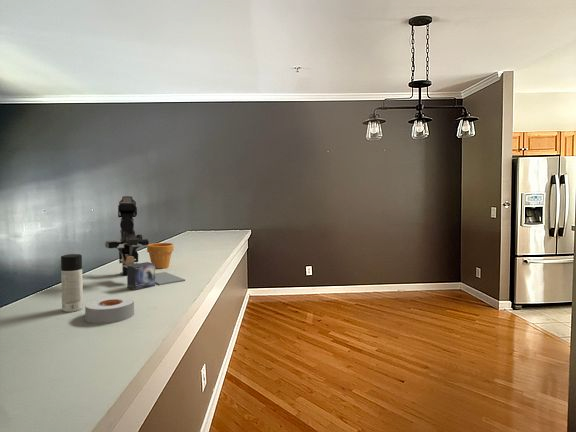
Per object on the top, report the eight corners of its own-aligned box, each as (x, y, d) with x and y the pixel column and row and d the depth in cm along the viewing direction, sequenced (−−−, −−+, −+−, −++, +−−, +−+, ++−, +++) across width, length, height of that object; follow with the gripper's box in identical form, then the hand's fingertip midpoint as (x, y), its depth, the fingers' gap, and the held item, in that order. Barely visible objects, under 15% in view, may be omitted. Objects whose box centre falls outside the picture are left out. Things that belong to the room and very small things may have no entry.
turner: (117, 263, 179) (117, 255, 179) (131, 261, 184) (131, 253, 184) (127, 268, 169) (127, 259, 169) (142, 266, 174) (142, 257, 174)
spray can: (87, 307, 138) (86, 254, 137) (75, 312, 131) (73, 257, 130) (70, 306, 139) (69, 253, 137) (57, 312, 132) (56, 256, 131)
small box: (134, 290, 161) (134, 267, 160) (126, 288, 165) (126, 265, 164) (156, 286, 169) (155, 263, 169) (148, 283, 173) (147, 261, 172)
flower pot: (146, 265, 214) (146, 243, 213) (171, 263, 220) (171, 242, 219) (148, 270, 201) (148, 246, 200) (175, 268, 207) (175, 245, 206)
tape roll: (89, 312, 133) (88, 298, 133) (134, 307, 139) (134, 294, 138) (82, 326, 119) (81, 311, 119) (133, 321, 124) (133, 306, 124)
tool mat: (140, 276, 187) (140, 275, 187) (165, 273, 196) (165, 271, 196) (159, 285, 171) (159, 283, 171) (185, 280, 180) (185, 279, 180)
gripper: (112, 231, 165) (113, 266, 166) (153, 229, 178) (153, 261, 179) (104, 229, 173) (105, 262, 174) (144, 227, 186) (144, 257, 187)
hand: (127, 260), depth 178 cm, fingers closed on turner, 3 cm apart
